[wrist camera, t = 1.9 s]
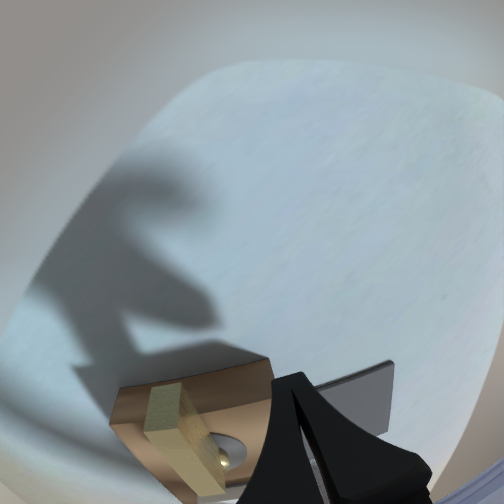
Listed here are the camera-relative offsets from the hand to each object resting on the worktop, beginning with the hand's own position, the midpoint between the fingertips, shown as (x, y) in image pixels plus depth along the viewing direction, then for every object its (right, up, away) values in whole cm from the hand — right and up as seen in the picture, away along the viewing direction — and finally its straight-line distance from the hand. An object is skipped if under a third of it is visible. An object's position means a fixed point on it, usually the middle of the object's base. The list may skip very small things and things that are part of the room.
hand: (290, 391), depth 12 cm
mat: (+5, -6, +6) cm, 10 cm away
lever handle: (-4, -3, +1) cm, 5 cm away
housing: (-4, -7, +6) cm, 10 cm away
